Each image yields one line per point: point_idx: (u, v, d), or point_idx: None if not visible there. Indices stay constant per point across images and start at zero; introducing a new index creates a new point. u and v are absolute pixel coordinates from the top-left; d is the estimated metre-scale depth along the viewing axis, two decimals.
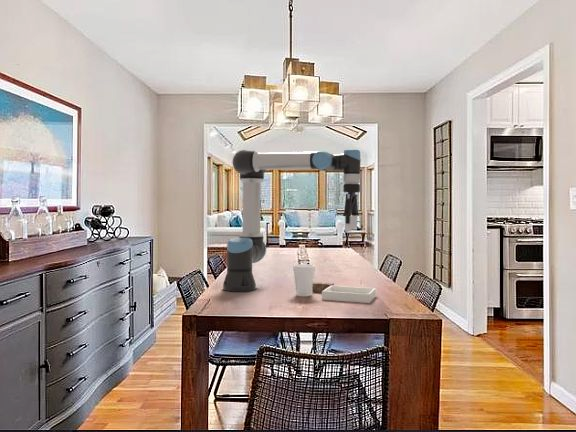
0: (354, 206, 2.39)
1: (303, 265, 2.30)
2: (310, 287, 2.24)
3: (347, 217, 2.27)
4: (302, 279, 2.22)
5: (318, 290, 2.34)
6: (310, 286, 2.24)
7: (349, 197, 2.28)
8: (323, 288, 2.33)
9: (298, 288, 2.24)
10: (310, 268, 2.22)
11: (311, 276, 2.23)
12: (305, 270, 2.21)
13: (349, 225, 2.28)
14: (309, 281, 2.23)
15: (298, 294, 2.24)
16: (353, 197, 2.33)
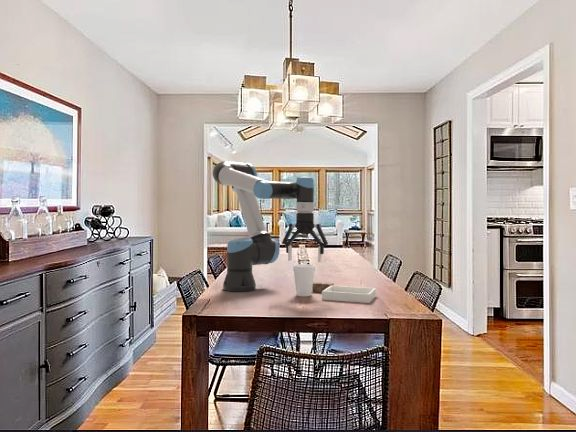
0: None
1: (303, 265, 2.30)
2: (310, 287, 2.24)
3: None
4: (302, 279, 2.22)
5: (318, 290, 2.34)
6: (310, 286, 2.24)
7: None
8: (323, 288, 2.33)
9: (298, 288, 2.24)
10: (310, 268, 2.22)
11: (311, 276, 2.23)
12: (305, 270, 2.21)
13: None
14: (309, 281, 2.23)
15: (298, 294, 2.24)
16: (299, 226, 2.25)
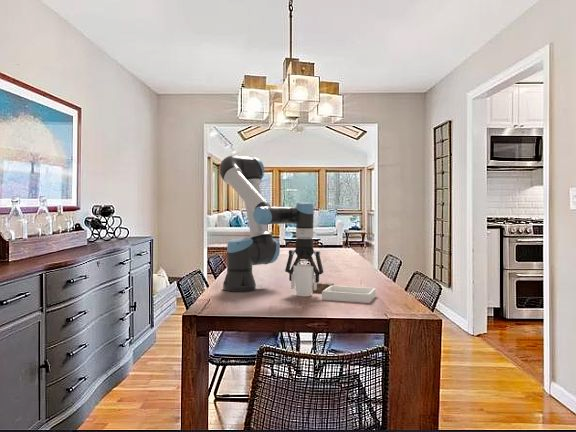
0: None
1: (303, 265, 2.30)
2: (310, 287, 2.24)
3: None
4: (302, 279, 2.22)
5: (318, 290, 2.34)
6: (310, 286, 2.24)
7: None
8: (323, 288, 2.33)
9: (298, 288, 2.24)
10: (310, 268, 2.22)
11: (311, 276, 2.23)
12: (305, 270, 2.21)
13: None
14: (309, 281, 2.23)
15: (298, 294, 2.24)
16: (299, 252, 2.25)
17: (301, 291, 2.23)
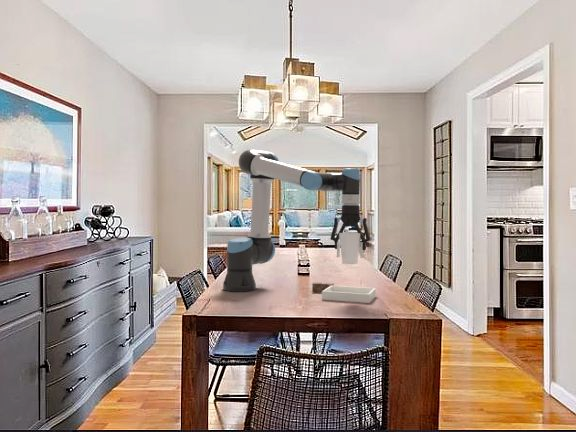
0: None
1: None
2: (357, 255, 2.18)
3: None
4: (349, 246, 2.16)
5: (318, 290, 2.34)
6: (357, 254, 2.18)
7: None
8: (323, 288, 2.33)
9: (344, 256, 2.18)
10: (357, 235, 2.16)
11: (358, 243, 2.17)
12: (352, 237, 2.16)
13: None
14: (356, 248, 2.17)
15: (344, 262, 2.18)
16: (345, 219, 2.19)
17: (348, 259, 2.17)
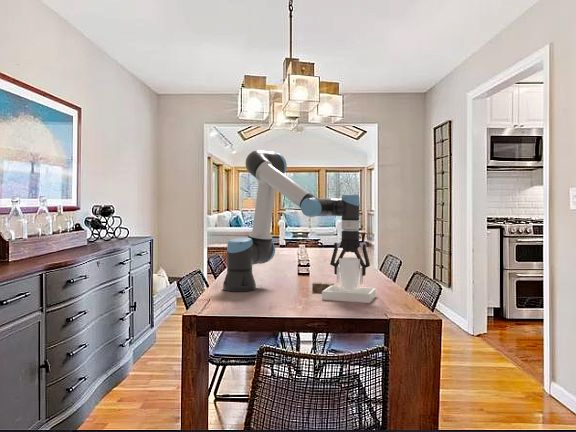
0: None
1: (348, 258, 2.24)
2: (356, 280, 2.18)
3: None
4: (349, 272, 2.17)
5: (318, 290, 2.34)
6: (356, 279, 2.18)
7: None
8: (323, 288, 2.33)
9: (344, 281, 2.18)
10: (357, 261, 2.17)
11: (358, 269, 2.18)
12: (352, 263, 2.16)
13: None
14: (356, 274, 2.17)
15: (344, 288, 2.19)
16: (344, 245, 2.20)
17: (347, 284, 2.18)
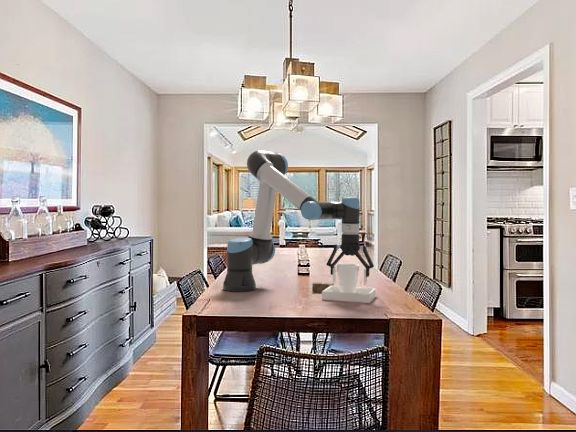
0: None
1: (346, 265, 2.25)
2: (354, 287, 2.19)
3: None
4: (347, 279, 2.17)
5: (318, 290, 2.34)
6: (354, 286, 2.19)
7: None
8: (323, 288, 2.33)
9: (342, 288, 2.19)
10: (355, 268, 2.17)
11: (356, 276, 2.18)
12: (350, 270, 2.16)
13: None
14: (354, 281, 2.18)
15: None
16: (344, 248, 2.20)
17: (345, 291, 2.18)
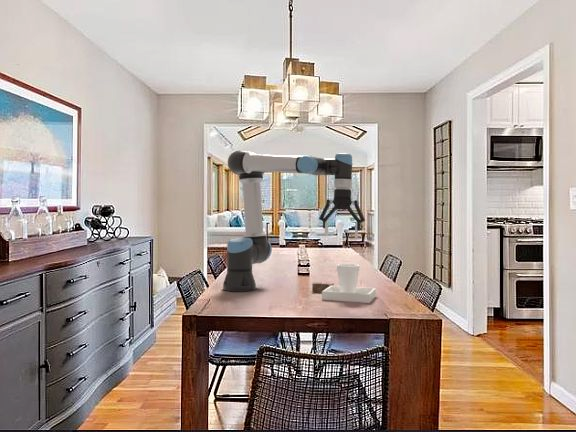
0: None
1: (346, 265, 2.25)
2: (354, 287, 2.19)
3: None
4: (347, 279, 2.17)
5: (318, 290, 2.34)
6: (355, 286, 2.19)
7: None
8: (323, 288, 2.33)
9: (342, 288, 2.19)
10: (355, 268, 2.17)
11: (356, 276, 2.18)
12: (350, 270, 2.16)
13: None
14: (354, 281, 2.18)
15: None
16: (337, 203, 2.28)
17: (345, 291, 2.18)
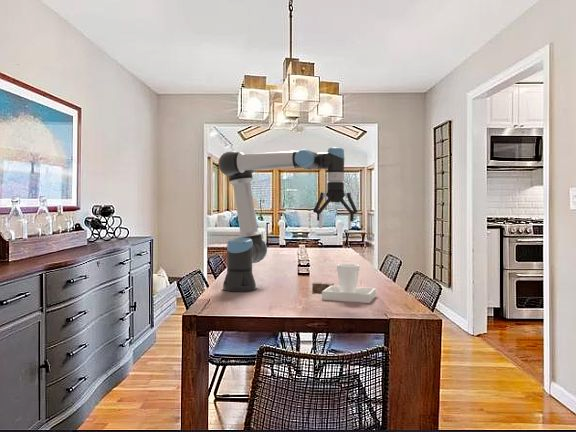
0: (343, 204, 2.34)
1: (346, 265, 2.25)
2: (355, 287, 2.19)
3: None
4: (347, 279, 2.17)
5: (318, 290, 2.34)
6: (355, 286, 2.19)
7: None
8: (323, 288, 2.33)
9: (342, 288, 2.19)
10: (355, 268, 2.17)
11: (356, 276, 2.18)
12: (350, 270, 2.16)
13: None
14: (354, 281, 2.18)
15: None
16: None
17: (345, 291, 2.18)
